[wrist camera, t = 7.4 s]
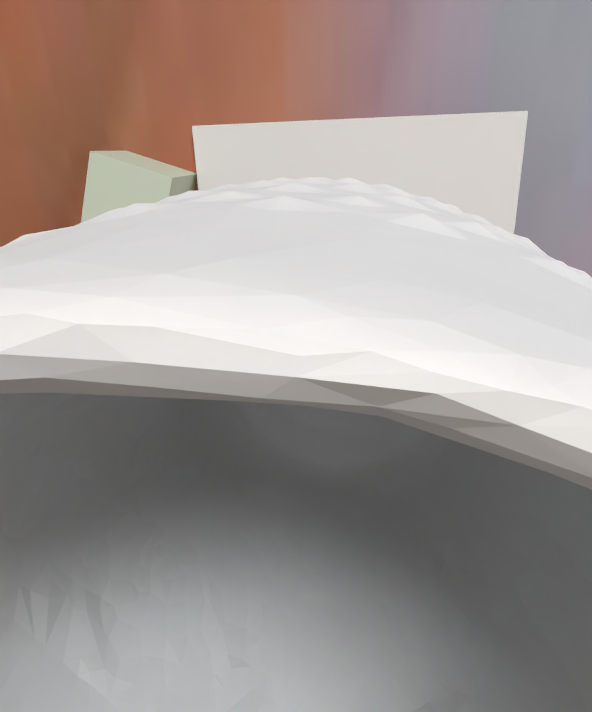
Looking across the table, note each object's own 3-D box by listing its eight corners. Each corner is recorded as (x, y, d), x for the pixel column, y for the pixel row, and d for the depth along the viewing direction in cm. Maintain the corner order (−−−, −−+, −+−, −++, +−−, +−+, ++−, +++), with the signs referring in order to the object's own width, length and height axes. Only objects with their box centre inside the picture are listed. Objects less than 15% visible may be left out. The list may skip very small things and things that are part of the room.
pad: (222, 406, 32) (219, 411, 32) (195, 126, 27) (192, 125, 26) (490, 415, 30) (492, 420, 30) (524, 111, 25) (528, 110, 24)
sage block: (110, 258, 30) (74, 273, 26) (127, 150, 28) (90, 151, 24) (176, 279, 30) (149, 297, 26) (198, 173, 28) (172, 177, 24)
